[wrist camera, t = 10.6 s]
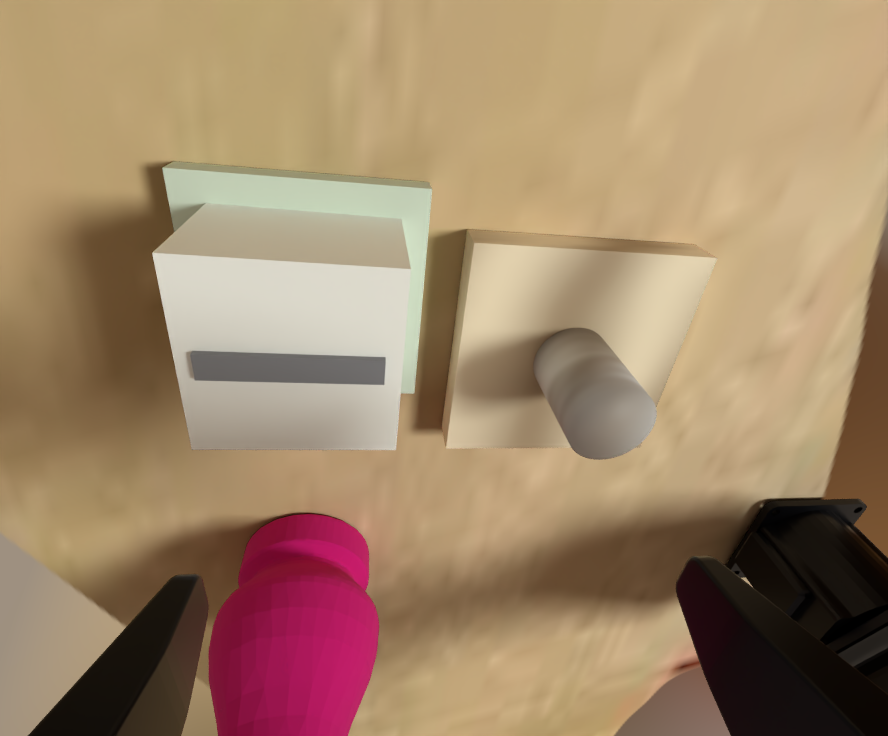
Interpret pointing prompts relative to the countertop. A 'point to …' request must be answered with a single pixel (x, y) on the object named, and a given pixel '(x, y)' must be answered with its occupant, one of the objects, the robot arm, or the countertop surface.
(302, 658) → the pepper mill
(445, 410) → the post base
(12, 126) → the countertop surface
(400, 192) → the pad
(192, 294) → the white cabinet cube
